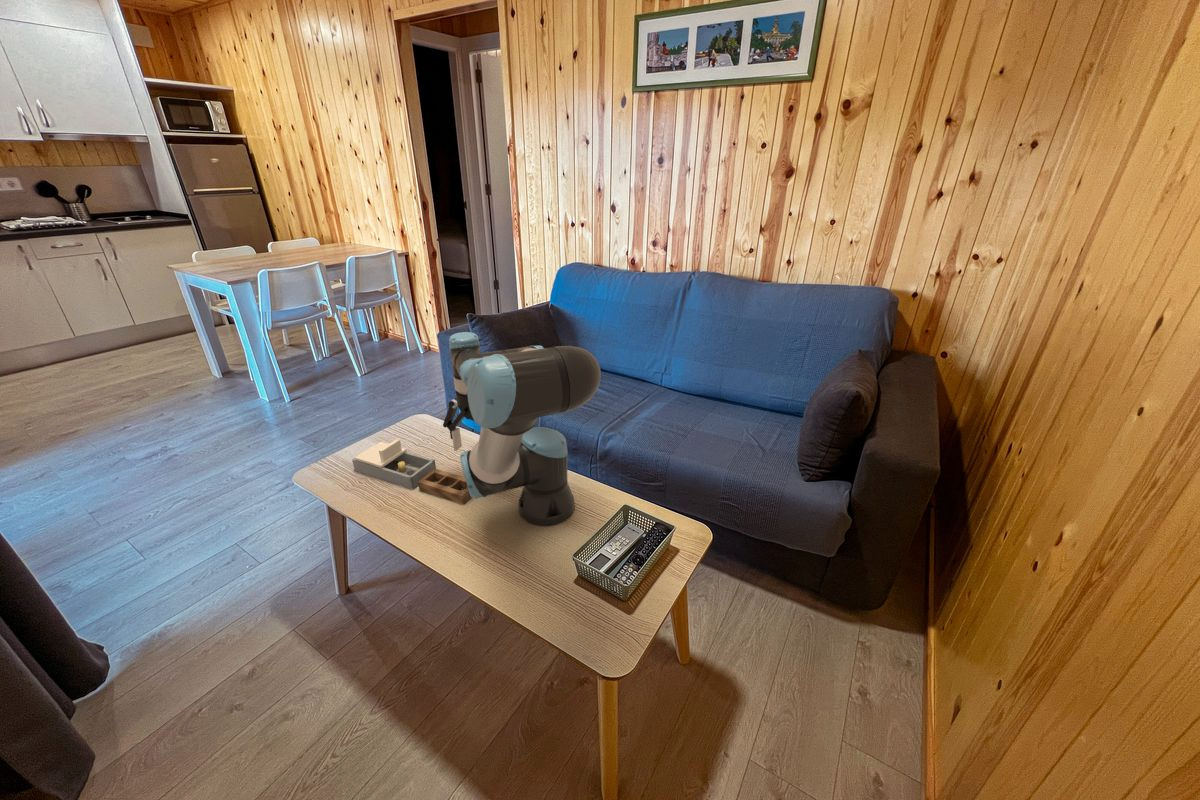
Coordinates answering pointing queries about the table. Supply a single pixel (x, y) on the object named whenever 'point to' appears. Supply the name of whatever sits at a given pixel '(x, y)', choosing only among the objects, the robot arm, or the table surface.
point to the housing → (400, 470)
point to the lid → (381, 453)
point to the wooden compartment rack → (440, 487)
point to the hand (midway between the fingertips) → (476, 454)
